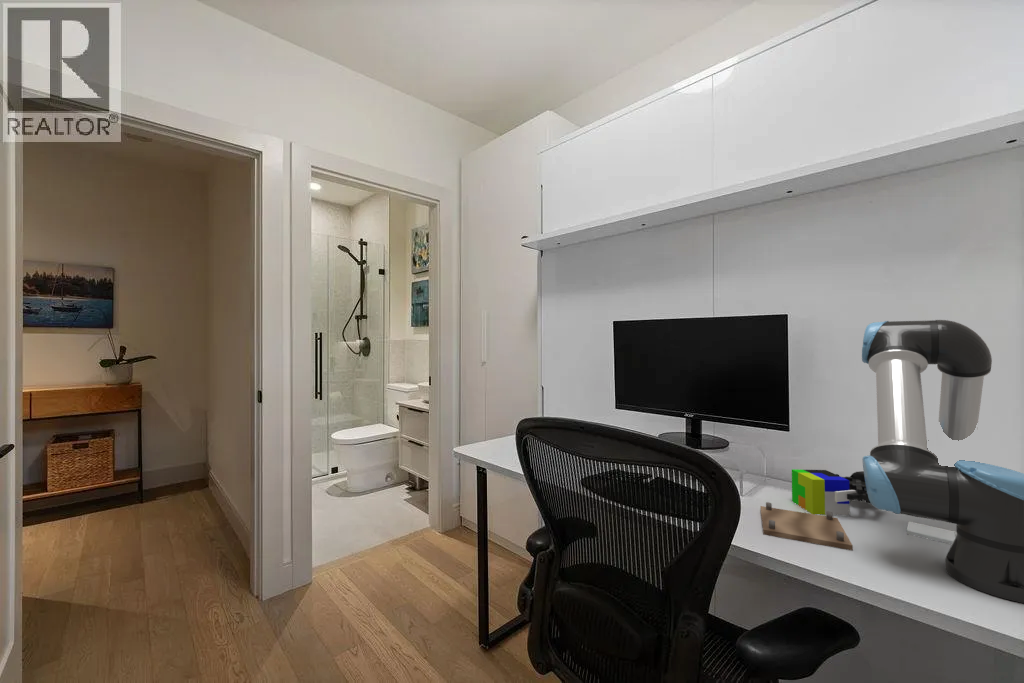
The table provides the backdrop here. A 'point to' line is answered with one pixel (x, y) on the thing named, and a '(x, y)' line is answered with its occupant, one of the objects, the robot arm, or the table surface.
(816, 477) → the puzzle toy
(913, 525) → the external hard drive
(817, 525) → the base plate
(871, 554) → the table surface
